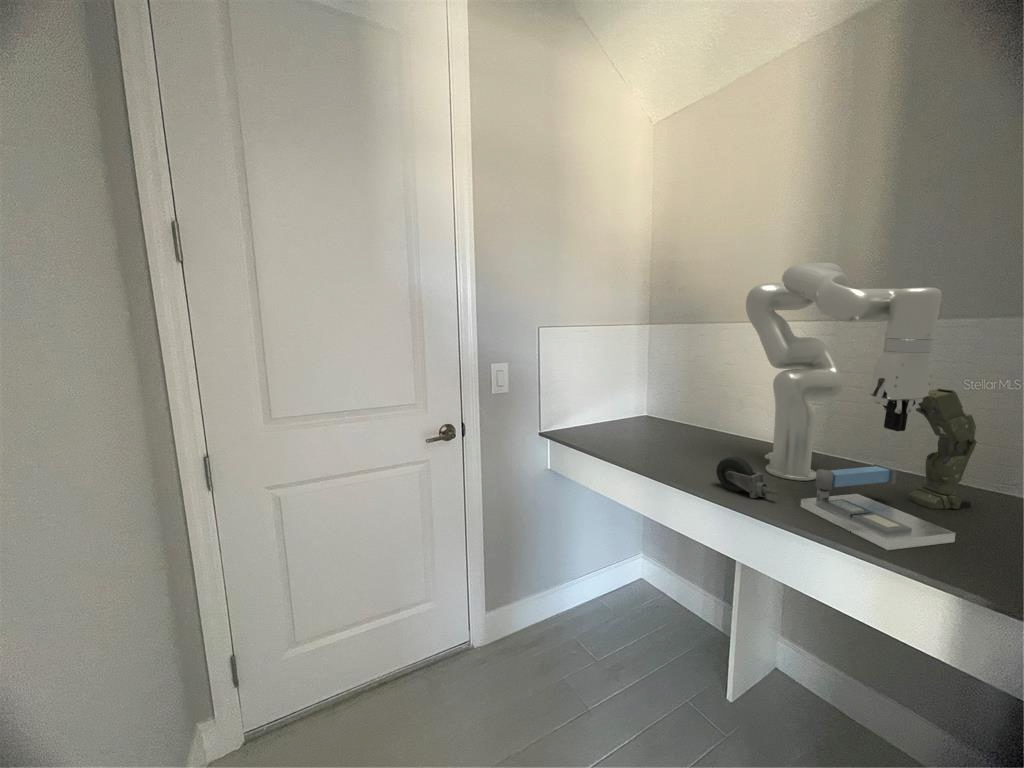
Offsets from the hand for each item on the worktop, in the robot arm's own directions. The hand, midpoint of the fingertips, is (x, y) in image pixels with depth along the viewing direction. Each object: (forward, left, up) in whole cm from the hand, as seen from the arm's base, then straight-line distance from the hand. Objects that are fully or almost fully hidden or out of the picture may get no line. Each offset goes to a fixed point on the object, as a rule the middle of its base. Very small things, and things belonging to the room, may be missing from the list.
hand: (894, 429), depth 89 cm
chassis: (+1, -5, -21) cm, 22 cm away
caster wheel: (-19, -20, -21) cm, 35 cm away
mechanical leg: (-4, +20, -21) cm, 29 cm away
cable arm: (-8, 0, -16) cm, 18 cm away
